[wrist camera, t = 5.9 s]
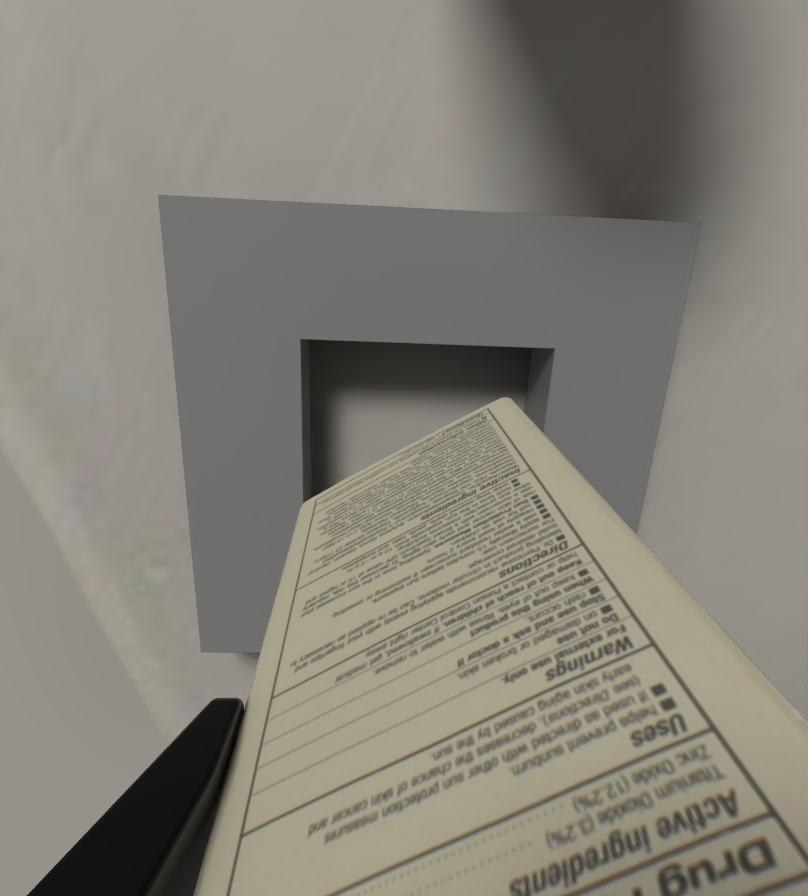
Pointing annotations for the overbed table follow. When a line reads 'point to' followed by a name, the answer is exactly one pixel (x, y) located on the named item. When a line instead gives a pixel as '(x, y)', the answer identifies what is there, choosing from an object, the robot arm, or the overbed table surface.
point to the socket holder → (399, 321)
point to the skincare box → (500, 700)
